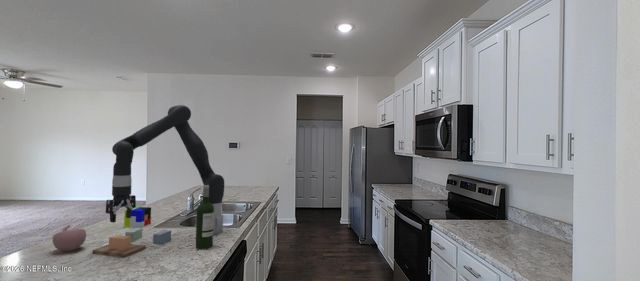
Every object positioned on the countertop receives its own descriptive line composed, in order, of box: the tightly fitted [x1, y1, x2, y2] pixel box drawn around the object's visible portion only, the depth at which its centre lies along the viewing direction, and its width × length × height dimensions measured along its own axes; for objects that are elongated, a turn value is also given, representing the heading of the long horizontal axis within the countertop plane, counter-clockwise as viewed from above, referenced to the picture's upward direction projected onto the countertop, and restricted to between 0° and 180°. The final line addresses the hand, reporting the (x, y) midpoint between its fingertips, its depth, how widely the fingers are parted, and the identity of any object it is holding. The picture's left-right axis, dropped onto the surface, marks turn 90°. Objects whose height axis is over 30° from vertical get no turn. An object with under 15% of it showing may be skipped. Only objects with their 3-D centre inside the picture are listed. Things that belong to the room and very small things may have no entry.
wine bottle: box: [195, 184, 214, 250], centre depth 154 cm, size 8×8×30 cm
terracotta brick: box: [108, 234, 132, 250], centre depth 144 cm, size 8×4×5 cm, turn 77°
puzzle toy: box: [123, 206, 152, 229], centre depth 188 cm, size 10×10×10 cm
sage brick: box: [124, 227, 143, 243], centre depth 161 cm, size 8×4×5 cm, turn 0°
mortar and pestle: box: [52, 224, 87, 252], centre depth 143 cm, size 12×12×12 cm
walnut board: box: [92, 243, 147, 259], centre depth 144 cm, size 17×12×2 cm
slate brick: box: [152, 229, 172, 245], centre depth 159 cm, size 8×4×5 cm, turn 167°
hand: (121, 220), depth 144 cm, fingers open, 8 cm apart
